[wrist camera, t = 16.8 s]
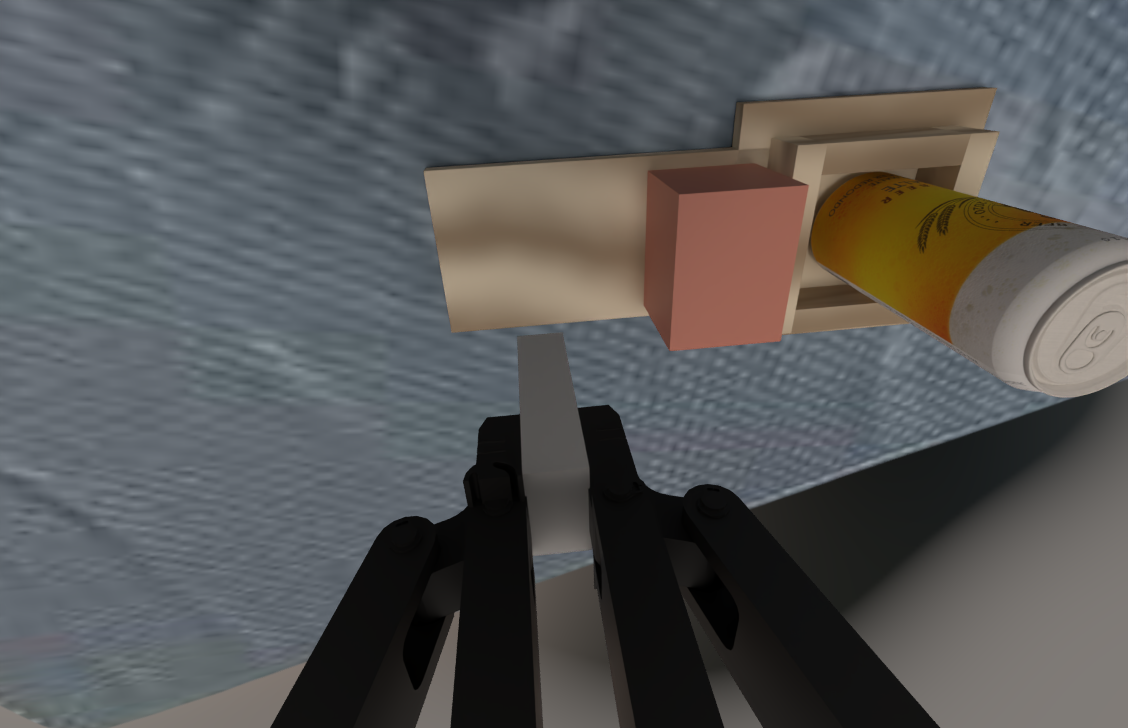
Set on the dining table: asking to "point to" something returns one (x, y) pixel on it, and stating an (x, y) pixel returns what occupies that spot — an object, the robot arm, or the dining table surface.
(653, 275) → the salmon pink block
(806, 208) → the dock
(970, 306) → the beer can
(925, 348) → the dining table surface
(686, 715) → the robot arm
